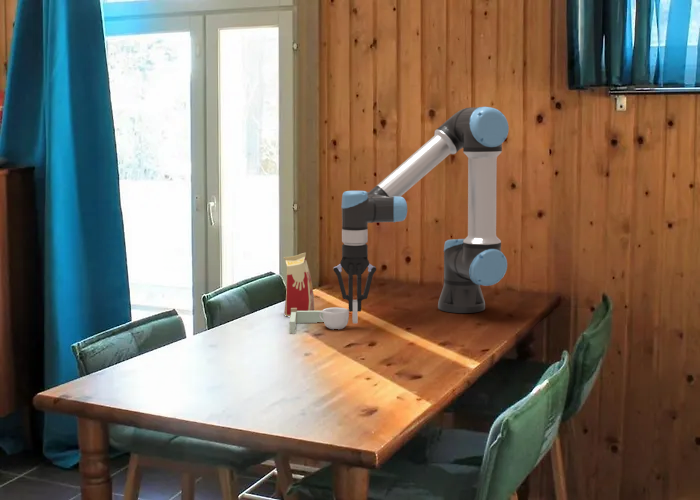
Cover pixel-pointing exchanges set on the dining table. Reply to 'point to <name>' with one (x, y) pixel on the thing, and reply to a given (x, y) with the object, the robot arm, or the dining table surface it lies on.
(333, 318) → the teacup
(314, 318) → the corner fence
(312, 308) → the milk carton
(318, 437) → the dining table surface
